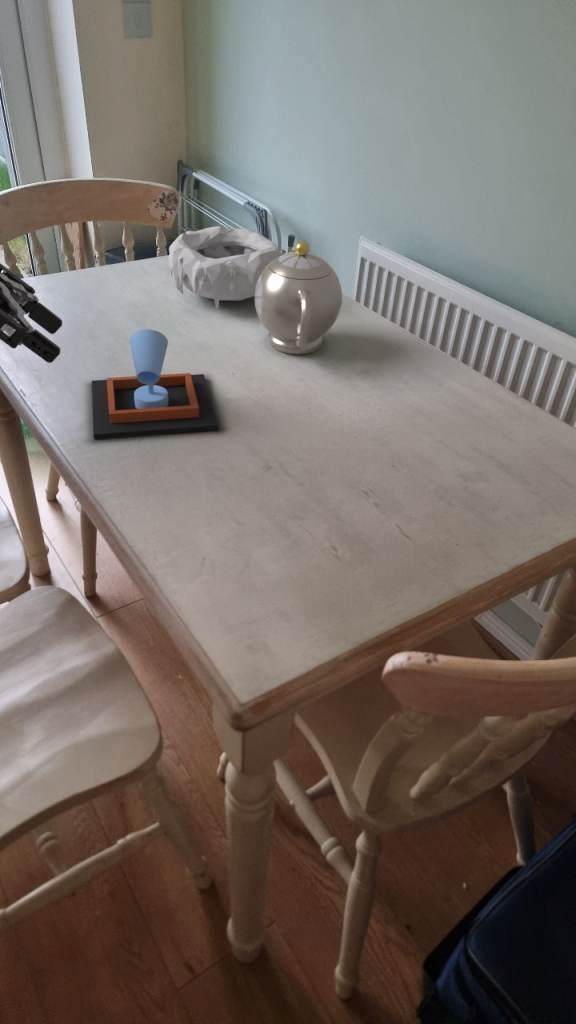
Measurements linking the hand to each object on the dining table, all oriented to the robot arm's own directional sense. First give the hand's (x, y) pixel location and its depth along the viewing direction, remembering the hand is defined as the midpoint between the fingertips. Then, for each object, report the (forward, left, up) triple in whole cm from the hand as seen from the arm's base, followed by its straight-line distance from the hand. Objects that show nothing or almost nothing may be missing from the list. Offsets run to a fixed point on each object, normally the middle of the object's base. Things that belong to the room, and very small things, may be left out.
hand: (57, 342), depth 86 cm
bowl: (+27, +38, -11) cm, 48 cm away
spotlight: (+11, +1, -10) cm, 15 cm away
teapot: (+35, +16, -11) cm, 40 cm away
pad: (+11, +1, -11) cm, 16 cm away
